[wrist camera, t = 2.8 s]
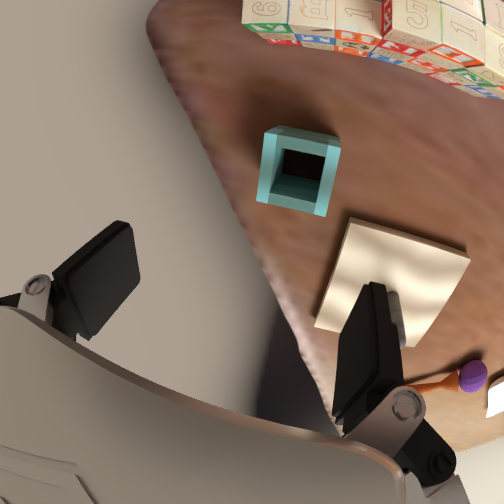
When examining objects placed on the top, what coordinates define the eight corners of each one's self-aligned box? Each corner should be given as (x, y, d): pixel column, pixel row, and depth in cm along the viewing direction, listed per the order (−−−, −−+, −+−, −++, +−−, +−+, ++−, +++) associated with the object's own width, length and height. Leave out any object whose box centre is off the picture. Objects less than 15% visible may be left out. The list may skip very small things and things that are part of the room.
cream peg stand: (350, 216, 28) (353, 268, 20) (466, 252, 25) (495, 305, 17) (315, 318, 37) (305, 375, 29) (412, 339, 34) (418, 393, 26)
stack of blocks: (269, 45, 20) (221, 13, 10) (273, -6, 17) (229, -61, 7) (475, 97, 16) (548, 110, 6) (477, 46, 13) (546, 35, 3)
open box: (278, 125, 25) (264, 132, 20) (339, 137, 24) (340, 148, 19) (271, 180, 28) (256, 200, 23) (327, 192, 27) (325, 216, 22)
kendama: (384, 397, 38) (491, 373, 27) (387, 373, 42) (485, 349, 31) (388, 415, 39) (487, 393, 28) (391, 391, 44) (483, 370, 33)
